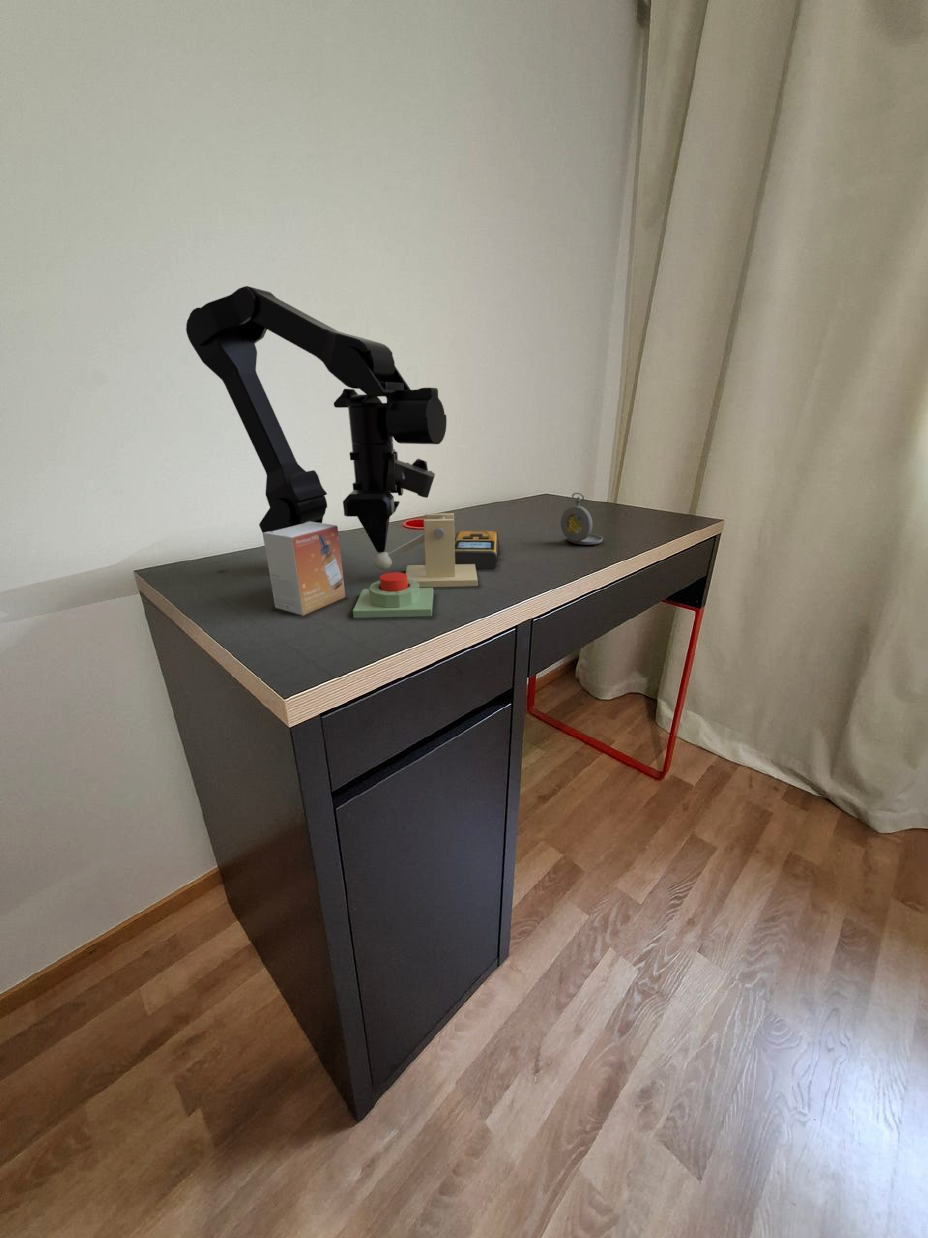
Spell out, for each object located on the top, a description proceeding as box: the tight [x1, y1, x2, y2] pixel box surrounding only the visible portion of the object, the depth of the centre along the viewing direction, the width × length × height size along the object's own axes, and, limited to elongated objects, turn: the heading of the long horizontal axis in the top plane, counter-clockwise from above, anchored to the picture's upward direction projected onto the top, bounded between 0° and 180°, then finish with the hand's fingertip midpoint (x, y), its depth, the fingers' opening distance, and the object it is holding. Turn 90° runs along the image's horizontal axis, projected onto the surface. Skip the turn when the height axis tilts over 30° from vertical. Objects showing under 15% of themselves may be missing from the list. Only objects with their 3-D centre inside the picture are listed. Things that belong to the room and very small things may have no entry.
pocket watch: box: [560, 492, 604, 546], centre depth 93 cm, size 8×8×10 cm
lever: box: [373, 516, 445, 571], centre depth 74 cm, size 13×3×3 cm, turn 93°
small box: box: [262, 521, 346, 616], centre depth 65 cm, size 8×6×10 cm
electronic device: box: [454, 530, 500, 570], centre depth 87 cm, size 8×16×3 cm, turn 176°
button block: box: [352, 579, 434, 619], centre depth 65 cm, size 10×8×3 cm
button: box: [379, 571, 408, 592], centre depth 65 cm, size 4×4×2 cm
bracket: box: [405, 512, 479, 588], centre depth 74 cm, size 11×8×10 cm
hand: (381, 551), depth 74 cm, fingers closed, pressing on lever
